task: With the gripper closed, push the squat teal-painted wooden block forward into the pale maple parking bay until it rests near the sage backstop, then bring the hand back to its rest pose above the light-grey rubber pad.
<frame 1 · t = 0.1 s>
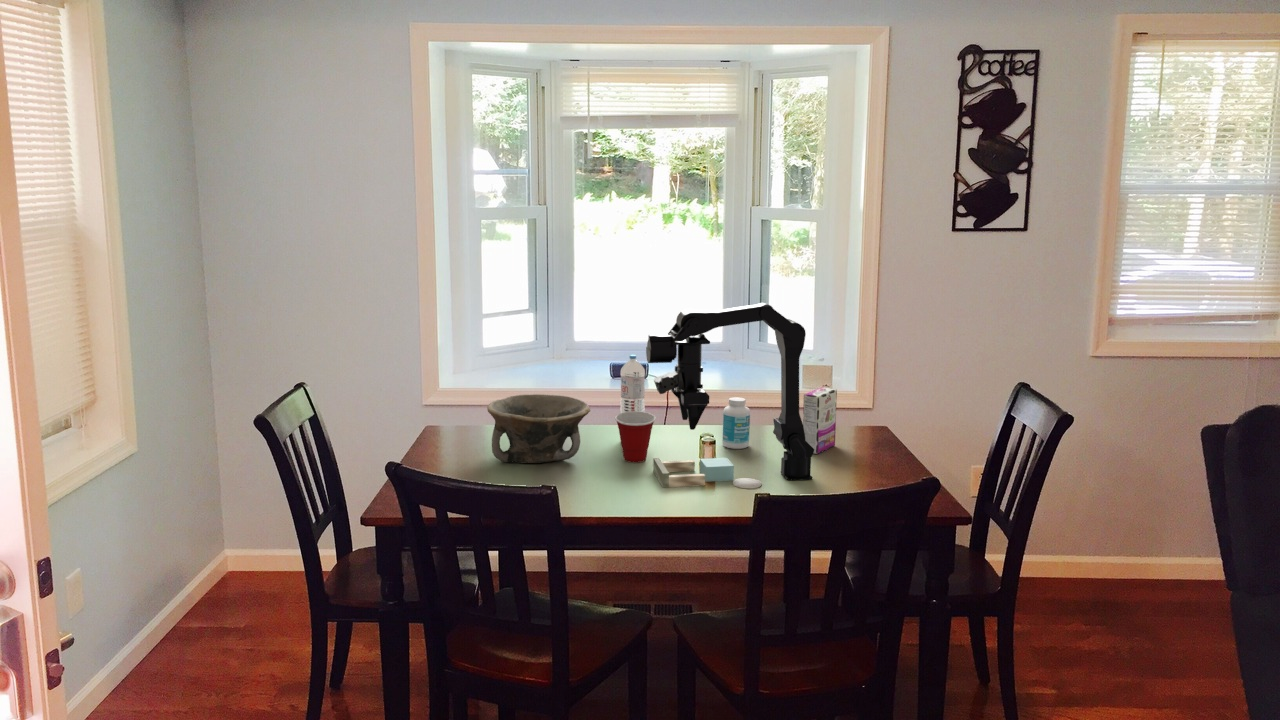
hand: (688, 424, 238), 15 cm above the table, fingers open, 9 cm apart
block: (716, 477, 245), on the table
water bottle: (632, 442, 276), on the table
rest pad: (747, 484, 240), on the table
parking bay: (681, 478, 244), on the table
bowl: (539, 459, 260), on the table
pill bottle: (735, 446, 273), on the table
plastic cup: (635, 460, 259), on the table
candy bar box: (818, 449, 270), on the table
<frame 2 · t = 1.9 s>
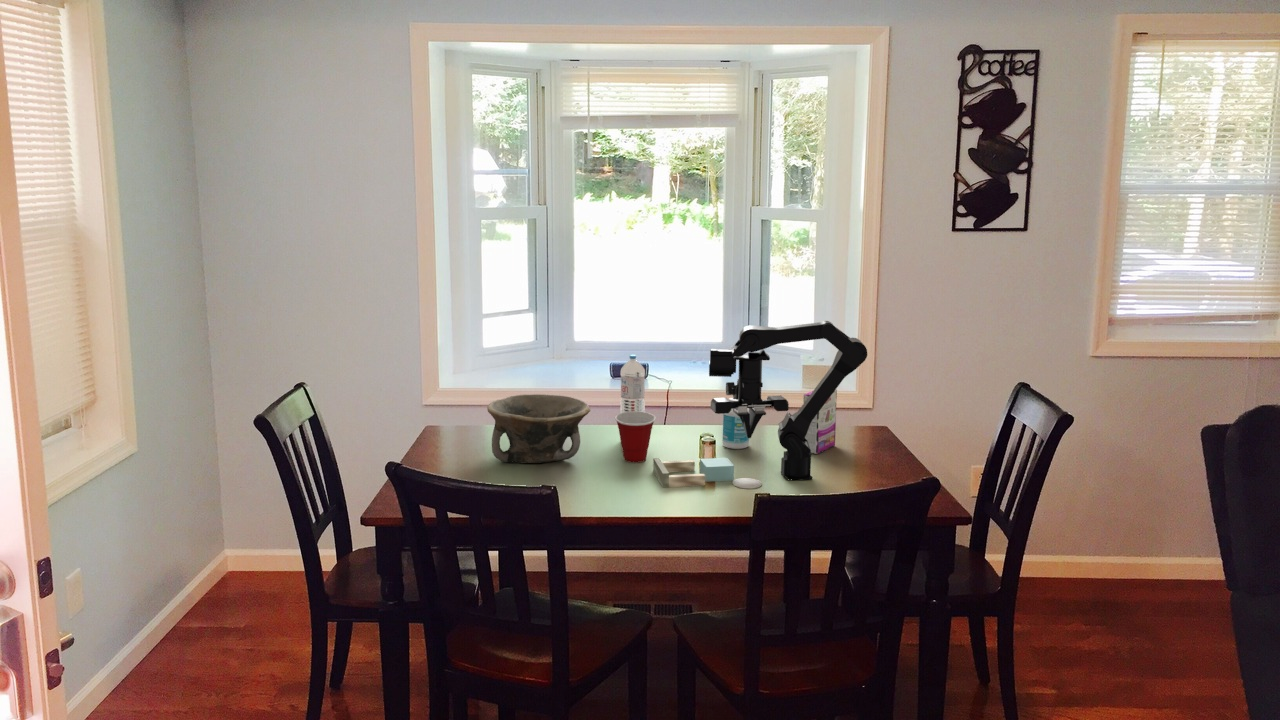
hand: (748, 437, 245), 10 cm above the table, fingers closed
nothing on the table moved.
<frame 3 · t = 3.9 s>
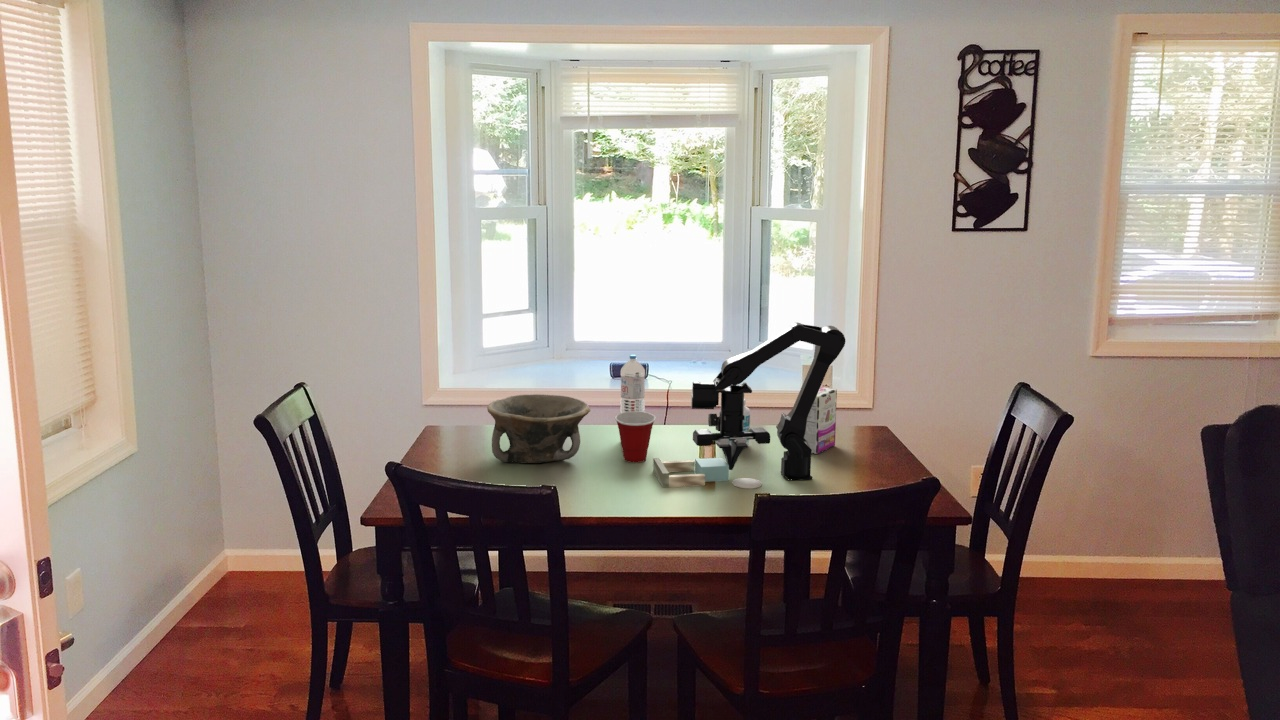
hand: (730, 469, 246), 2 cm above the table, fingers closed
block: (711, 477, 245), on the table, touching gripper
everything else where it was.
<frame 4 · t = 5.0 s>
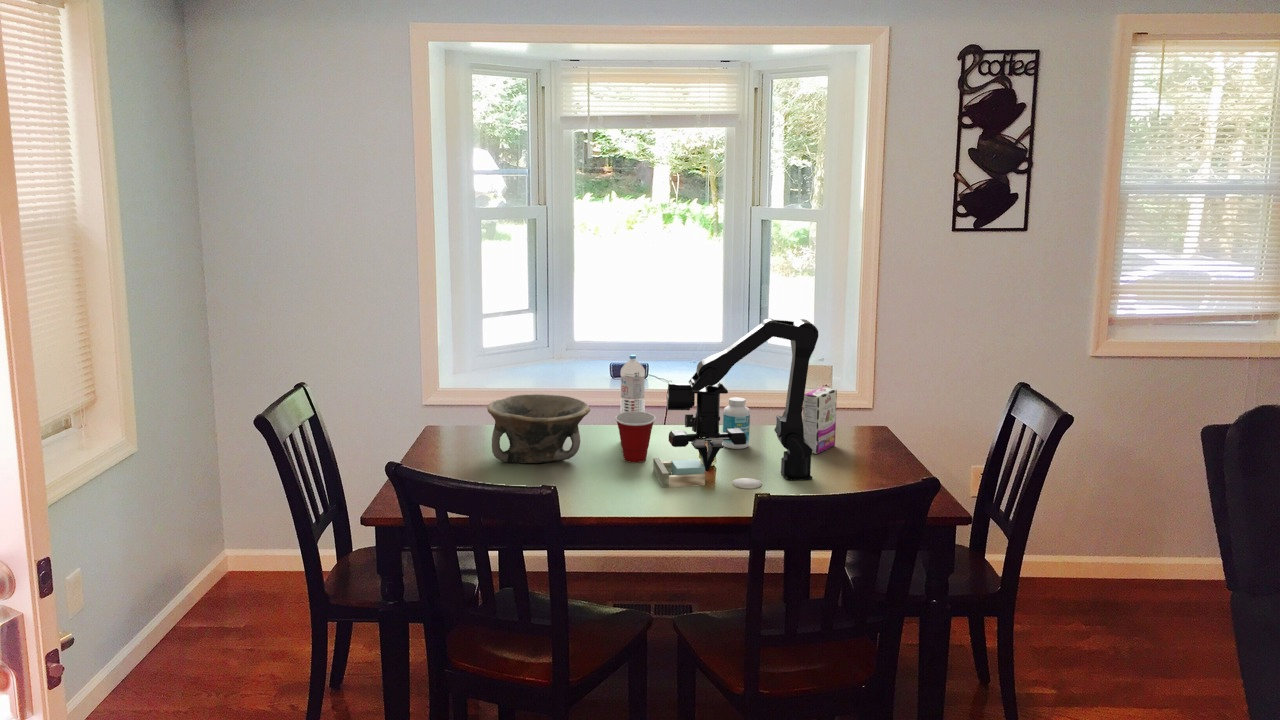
hand: (706, 470, 245), 2 cm above the table, fingers closed
block: (687, 479, 244), on the table, touching gripper
everything else where it was.
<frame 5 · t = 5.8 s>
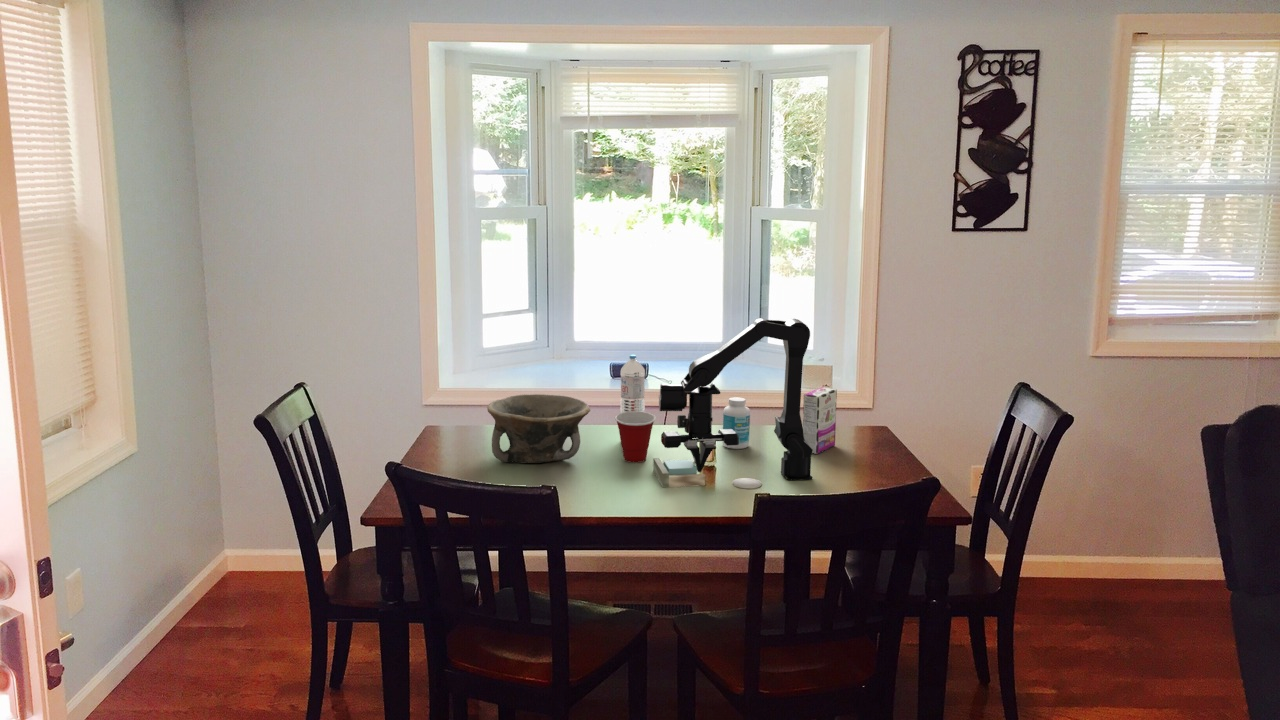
hand: (699, 471, 244), 2 cm above the table, fingers closed
block: (679, 479, 244), on the table
everything else where it was.
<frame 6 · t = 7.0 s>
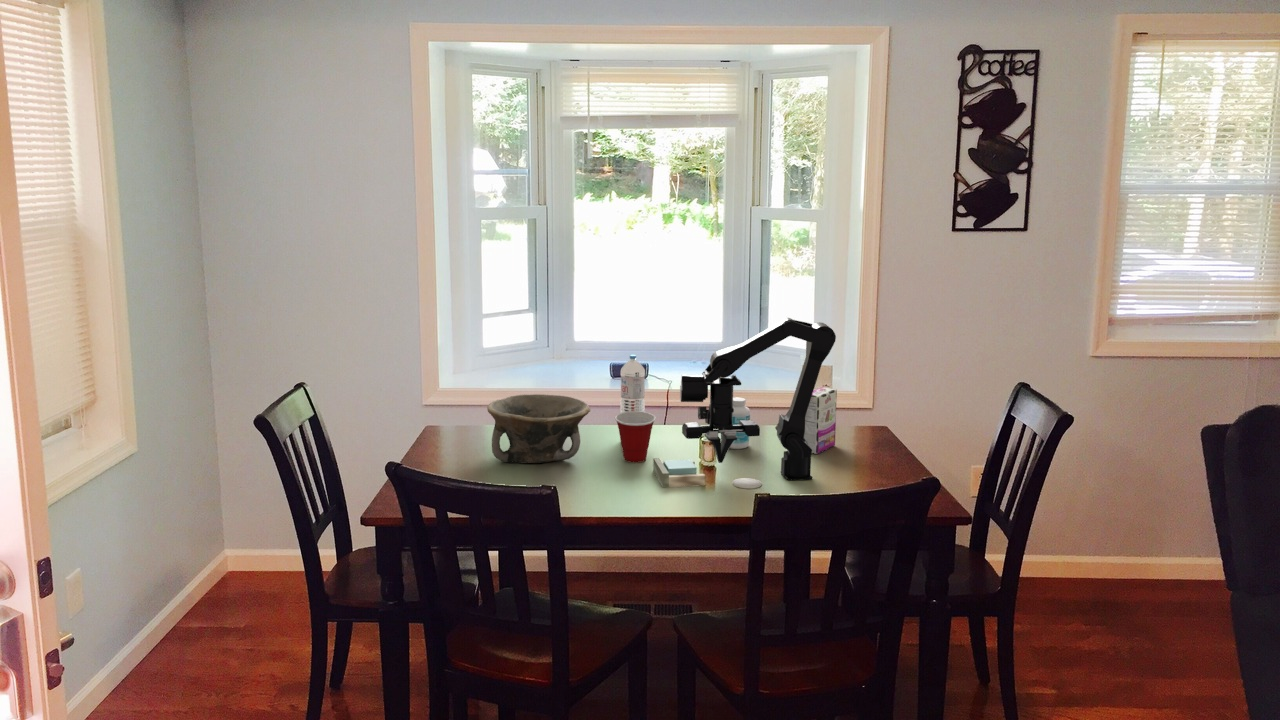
hand: (720, 462, 245), 4 cm above the table, fingers closed
nothing on the table moved.
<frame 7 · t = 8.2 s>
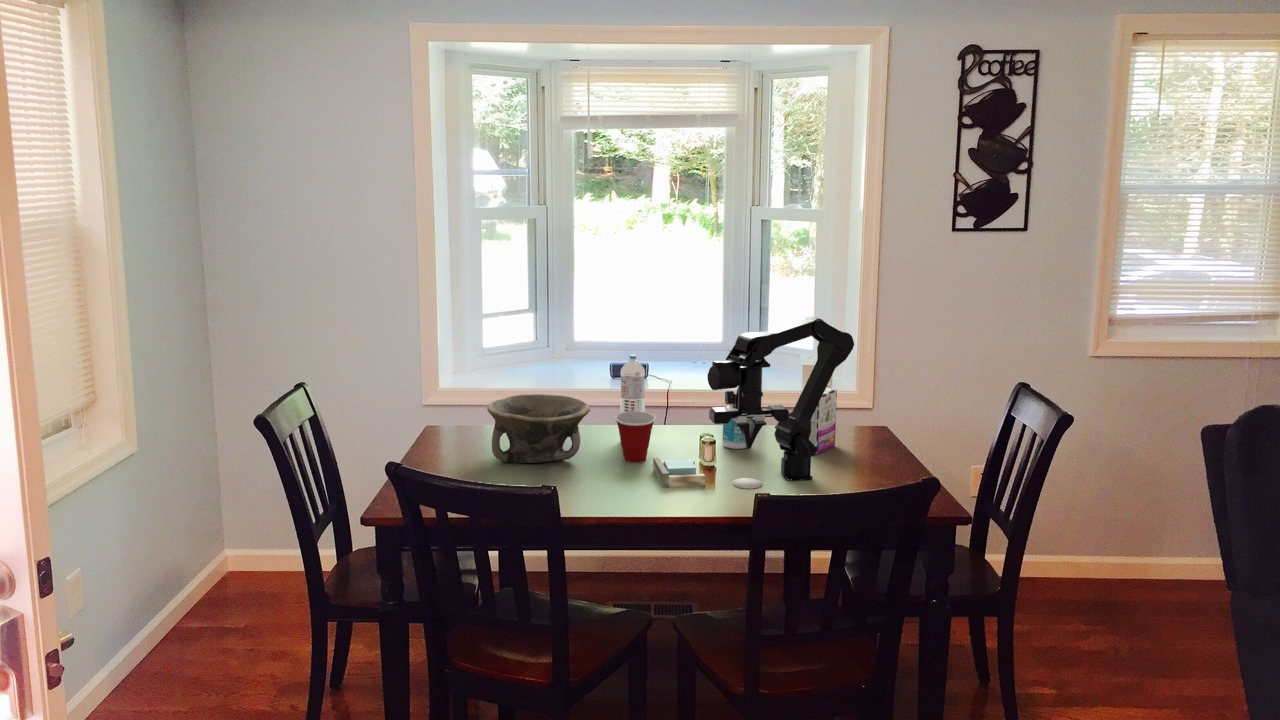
hand: (748, 448, 238), 9 cm above the table, fingers closed
nothing on the table moved.
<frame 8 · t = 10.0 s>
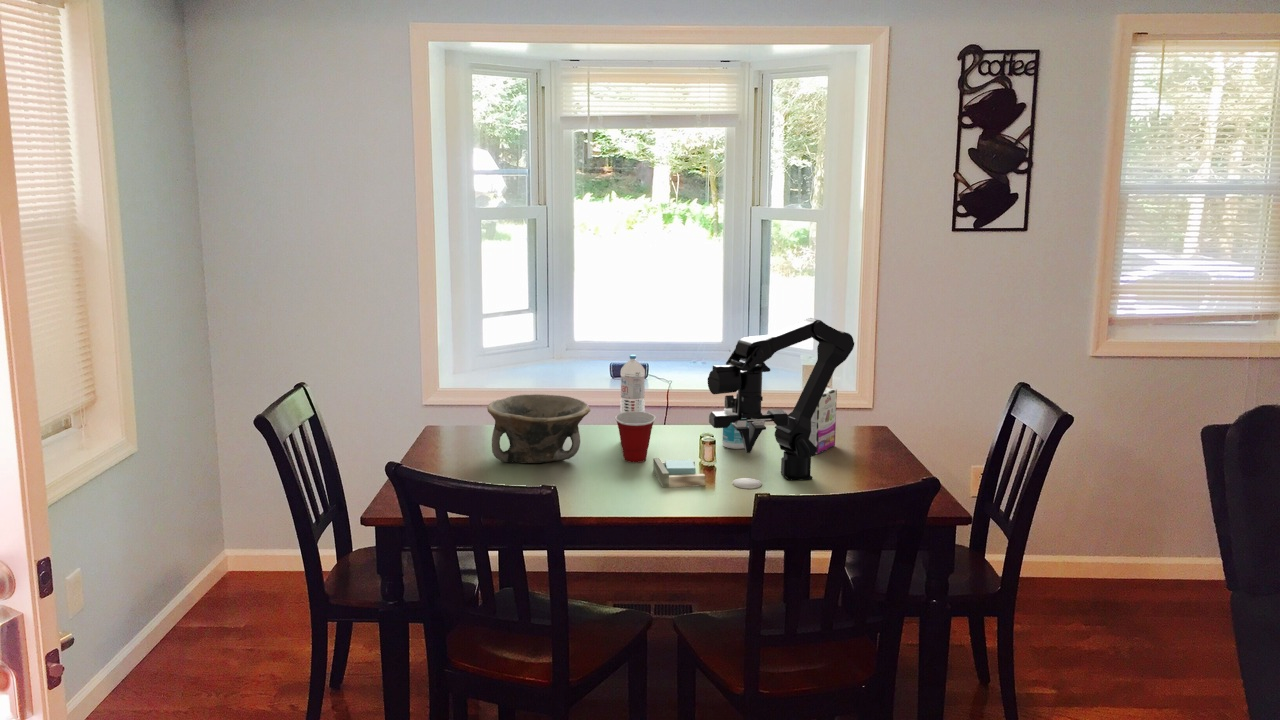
hand: (748, 452, 238), 8 cm above the table, fingers closed
nothing on the table moved.
at the end: block inside the target area (0.3 cm from its centre), on the table; block tilted 0°; block moved 9.5 cm from its start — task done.
